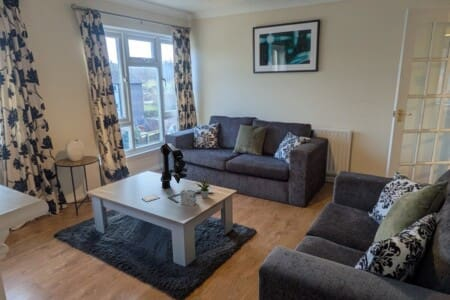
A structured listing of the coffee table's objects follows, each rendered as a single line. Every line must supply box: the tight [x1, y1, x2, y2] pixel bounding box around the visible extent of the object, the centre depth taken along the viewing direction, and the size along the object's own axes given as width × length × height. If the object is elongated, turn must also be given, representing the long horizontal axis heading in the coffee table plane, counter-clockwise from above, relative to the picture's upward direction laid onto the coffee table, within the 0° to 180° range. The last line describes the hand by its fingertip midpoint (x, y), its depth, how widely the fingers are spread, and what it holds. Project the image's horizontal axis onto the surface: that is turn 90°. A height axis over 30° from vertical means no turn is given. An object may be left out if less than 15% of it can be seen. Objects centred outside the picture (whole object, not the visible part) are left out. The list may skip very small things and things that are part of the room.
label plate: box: [141, 193, 161, 203], centre depth 243 cm, size 12×9×1 cm
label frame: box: [167, 193, 181, 204], centre depth 242 cm, size 13×15×1 cm
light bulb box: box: [179, 188, 197, 206], centre depth 231 cm, size 11×7×11 cm, turn 75°
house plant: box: [195, 177, 213, 199], centre depth 244 cm, size 14×14×16 cm
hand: (178, 183), depth 239 cm, fingers closed
